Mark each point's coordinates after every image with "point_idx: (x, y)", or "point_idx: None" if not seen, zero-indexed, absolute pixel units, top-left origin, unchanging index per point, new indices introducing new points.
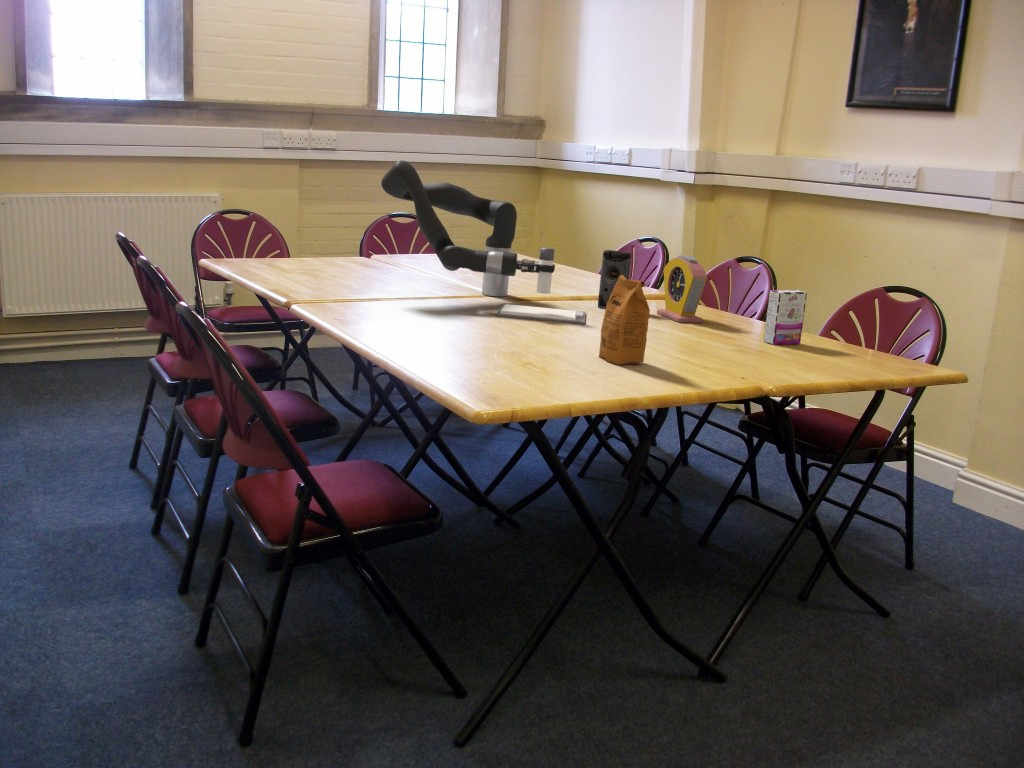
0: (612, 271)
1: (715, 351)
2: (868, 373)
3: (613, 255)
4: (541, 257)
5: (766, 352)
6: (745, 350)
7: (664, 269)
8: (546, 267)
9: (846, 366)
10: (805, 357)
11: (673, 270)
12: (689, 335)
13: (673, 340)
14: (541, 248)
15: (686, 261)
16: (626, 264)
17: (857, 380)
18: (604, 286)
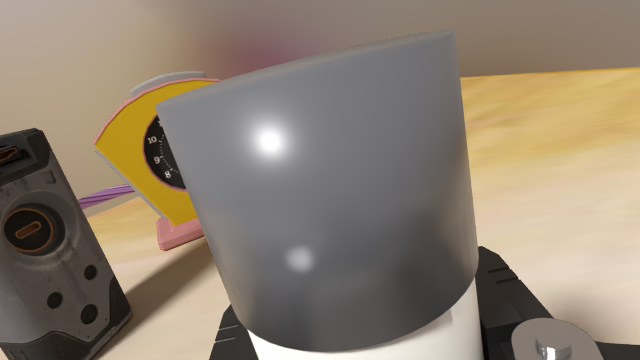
0: (15, 227)
1: (559, 126)
2: (505, 81)
3: None
4: (463, 247)
5: (478, 116)
6: (493, 122)
7: (103, 145)
8: (525, 295)
9: (484, 90)
10: (467, 104)
11: (148, 127)
12: None
13: (524, 165)
14: (418, 55)
15: (200, 78)
16: (60, 167)
17: (564, 72)
18: (42, 295)
